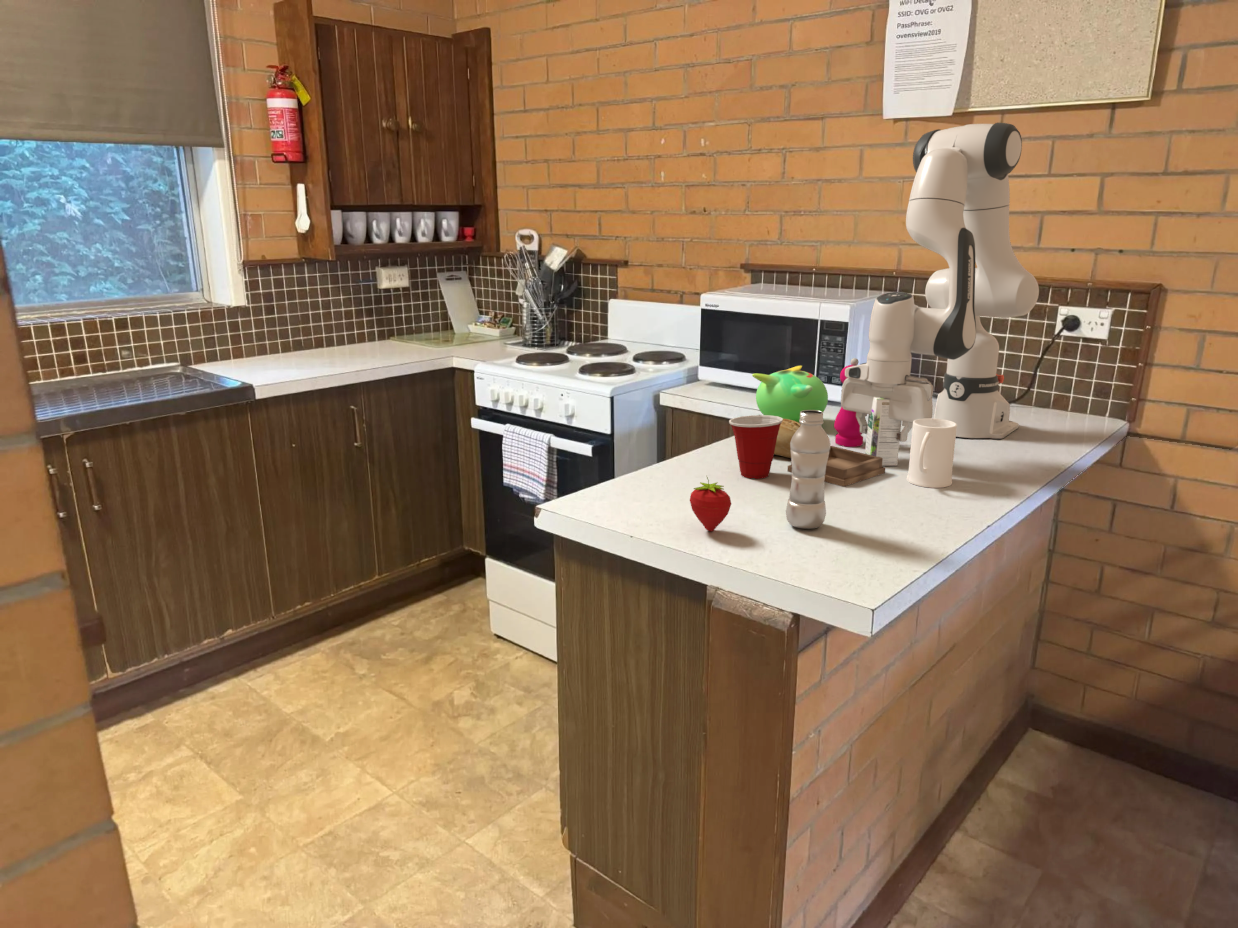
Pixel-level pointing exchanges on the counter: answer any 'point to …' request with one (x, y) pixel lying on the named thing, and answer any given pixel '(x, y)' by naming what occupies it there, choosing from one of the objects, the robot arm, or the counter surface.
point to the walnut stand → (850, 466)
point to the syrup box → (882, 433)
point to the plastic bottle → (808, 472)
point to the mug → (932, 453)
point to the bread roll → (785, 437)
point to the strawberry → (710, 504)
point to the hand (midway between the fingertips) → (882, 437)
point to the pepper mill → (847, 421)
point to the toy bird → (790, 393)
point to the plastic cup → (755, 443)
